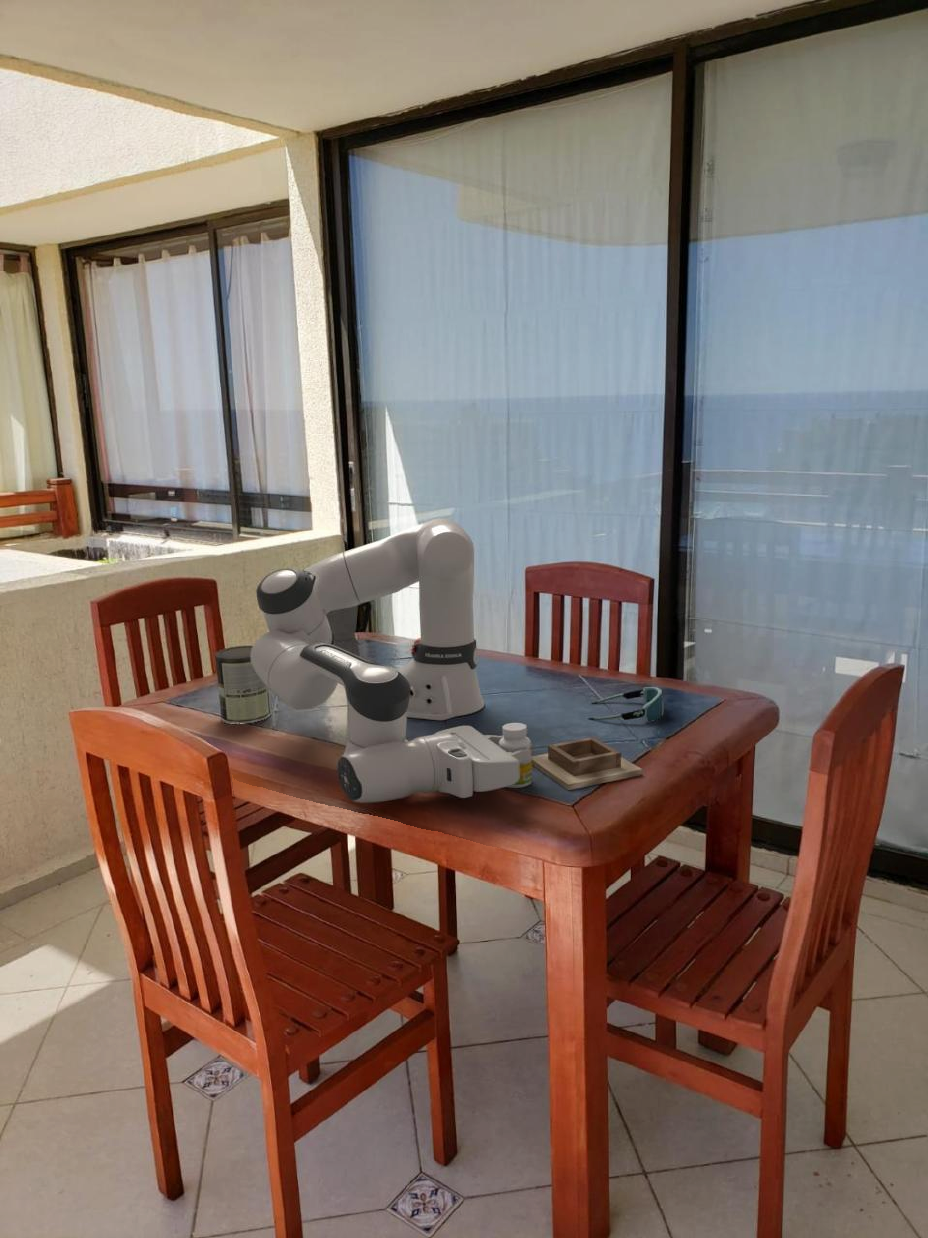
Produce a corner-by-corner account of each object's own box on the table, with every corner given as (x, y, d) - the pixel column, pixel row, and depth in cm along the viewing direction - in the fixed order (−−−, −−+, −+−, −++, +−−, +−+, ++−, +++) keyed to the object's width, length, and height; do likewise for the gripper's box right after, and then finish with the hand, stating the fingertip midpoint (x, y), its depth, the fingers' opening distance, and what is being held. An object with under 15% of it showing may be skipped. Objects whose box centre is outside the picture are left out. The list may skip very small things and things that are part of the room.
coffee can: (210, 720, 192) (203, 654, 189) (248, 706, 201) (242, 643, 198) (244, 728, 186) (238, 660, 184) (281, 714, 195) (276, 648, 192)
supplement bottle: (497, 777, 156) (496, 722, 154) (529, 775, 157) (528, 720, 155) (501, 789, 151) (500, 732, 149) (534, 787, 152) (533, 730, 150)
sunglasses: (665, 725, 180) (662, 701, 179) (588, 733, 183) (585, 709, 182) (664, 703, 193) (661, 680, 192) (593, 711, 197) (589, 688, 196)
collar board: (568, 790, 150) (568, 769, 149) (528, 762, 163) (528, 743, 162) (641, 774, 155) (642, 755, 155) (598, 749, 168) (598, 730, 167)
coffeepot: (328, 672, 226) (323, 599, 222) (311, 664, 234) (306, 594, 230) (383, 661, 235) (379, 590, 231) (364, 654, 242) (360, 586, 238)
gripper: (419, 759, 158) (493, 745, 163) (467, 802, 139) (549, 785, 145) (418, 724, 157) (492, 711, 162) (466, 763, 138) (548, 747, 143)
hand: (520, 746), depth 153 cm, fingers closed on supplement bottle, 5 cm apart
